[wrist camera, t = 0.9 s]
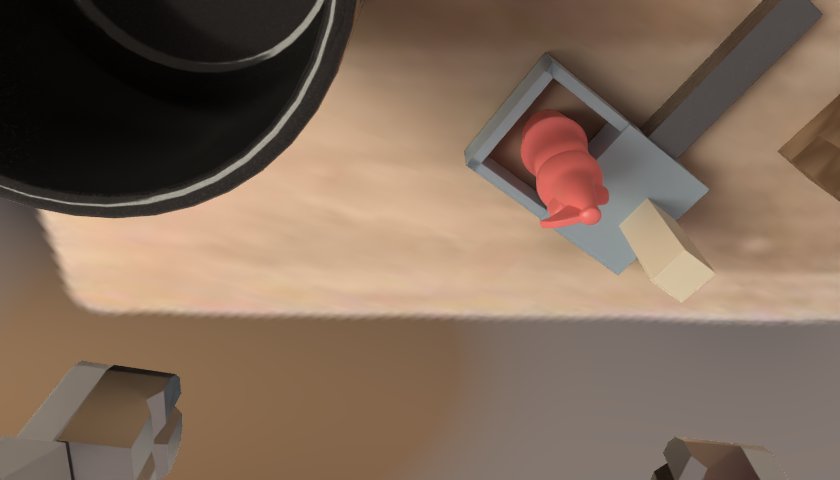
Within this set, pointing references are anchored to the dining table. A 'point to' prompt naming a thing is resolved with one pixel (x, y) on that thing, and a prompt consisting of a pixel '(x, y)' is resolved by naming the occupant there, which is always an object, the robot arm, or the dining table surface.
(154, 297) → the dining table surface
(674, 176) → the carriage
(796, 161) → the box
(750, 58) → the rail
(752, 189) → the dining table surface
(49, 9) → the planter
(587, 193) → the figurine
